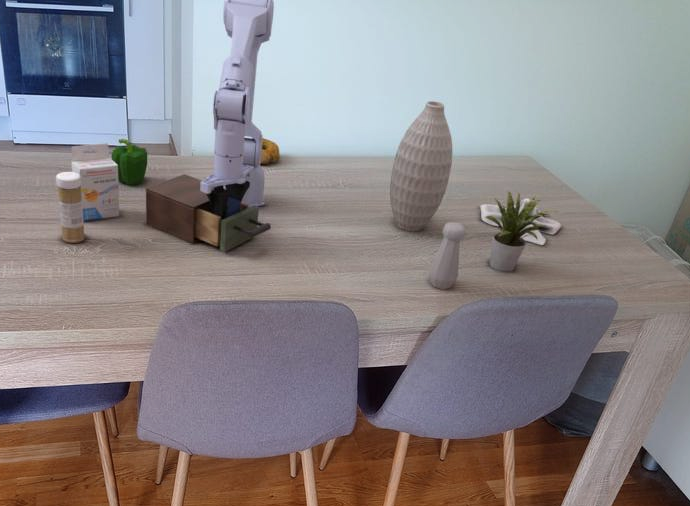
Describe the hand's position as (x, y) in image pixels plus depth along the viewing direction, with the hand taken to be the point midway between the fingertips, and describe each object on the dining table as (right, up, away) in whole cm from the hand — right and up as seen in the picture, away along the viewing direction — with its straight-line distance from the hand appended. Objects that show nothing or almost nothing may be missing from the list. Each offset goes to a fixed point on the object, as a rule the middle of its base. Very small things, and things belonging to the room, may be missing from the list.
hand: (225, 216), depth 147 cm
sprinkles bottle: (-31, -5, -3) cm, 31 cm away
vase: (+42, +2, +19) cm, 46 cm away
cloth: (+71, +3, +27) cm, 76 cm away
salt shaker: (+44, -14, -3) cm, 46 cm away
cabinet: (-9, 0, +7) cm, 11 cm away
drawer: (0, -4, +2) cm, 5 cm away
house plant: (+59, -10, +5) cm, 60 cm away
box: (0, -1, +1) cm, 1 cm away
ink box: (-29, +2, +7) cm, 30 cm away
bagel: (-5, +3, +6) cm, 9 cm away
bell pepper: (-25, +13, +24) cm, 38 cm away
